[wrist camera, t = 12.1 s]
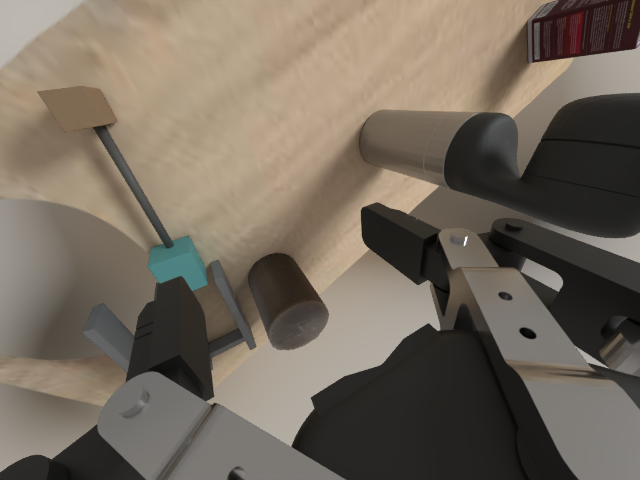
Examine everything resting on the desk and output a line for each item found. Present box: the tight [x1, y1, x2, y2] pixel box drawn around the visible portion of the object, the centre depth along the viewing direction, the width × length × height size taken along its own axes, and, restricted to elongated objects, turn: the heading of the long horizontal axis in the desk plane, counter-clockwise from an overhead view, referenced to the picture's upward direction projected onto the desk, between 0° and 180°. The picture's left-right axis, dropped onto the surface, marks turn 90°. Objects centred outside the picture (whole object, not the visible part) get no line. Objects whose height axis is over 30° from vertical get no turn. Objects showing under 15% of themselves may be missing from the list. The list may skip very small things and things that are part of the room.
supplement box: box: [527, 0, 640, 63], centre depth 43 cm, size 9×5×16 cm, turn 41°
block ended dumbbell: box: [38, 86, 208, 291], centre depth 29 cm, size 5×24×6 cm, turn 9°
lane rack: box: [83, 260, 256, 373], centre depth 39 cm, size 17×18×5 cm
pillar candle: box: [248, 253, 329, 350], centre depth 40 cm, size 10×10×15 cm
